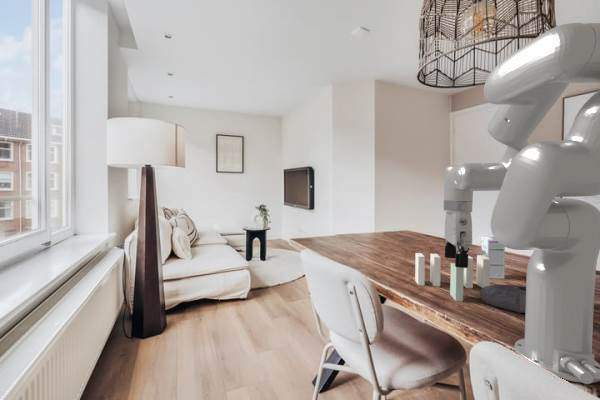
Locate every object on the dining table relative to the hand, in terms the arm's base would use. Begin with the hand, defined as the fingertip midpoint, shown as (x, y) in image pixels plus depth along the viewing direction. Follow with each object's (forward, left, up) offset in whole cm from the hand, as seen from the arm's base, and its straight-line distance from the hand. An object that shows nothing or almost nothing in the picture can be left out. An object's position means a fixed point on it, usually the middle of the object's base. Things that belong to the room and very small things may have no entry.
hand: (455, 262), depth 85 cm
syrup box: (+23, -20, -11) cm, 33 cm away
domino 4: (+11, -7, -11) cm, 17 cm away
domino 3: (-1, 0, -11) cm, 11 cm away
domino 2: (+11, +3, -11) cm, 16 cm away
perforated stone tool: (-7, -12, -11) cm, 18 cm away
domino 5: (+11, -12, -11) cm, 20 cm away
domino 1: (+11, +8, -11) cm, 17 cm away
